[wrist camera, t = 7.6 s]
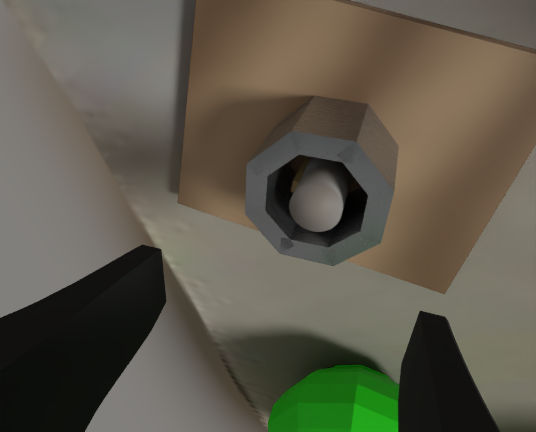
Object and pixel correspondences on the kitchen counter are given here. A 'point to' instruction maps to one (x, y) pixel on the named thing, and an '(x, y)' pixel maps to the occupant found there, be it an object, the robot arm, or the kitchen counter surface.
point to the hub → (331, 148)
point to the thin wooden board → (383, 104)
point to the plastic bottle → (338, 402)
